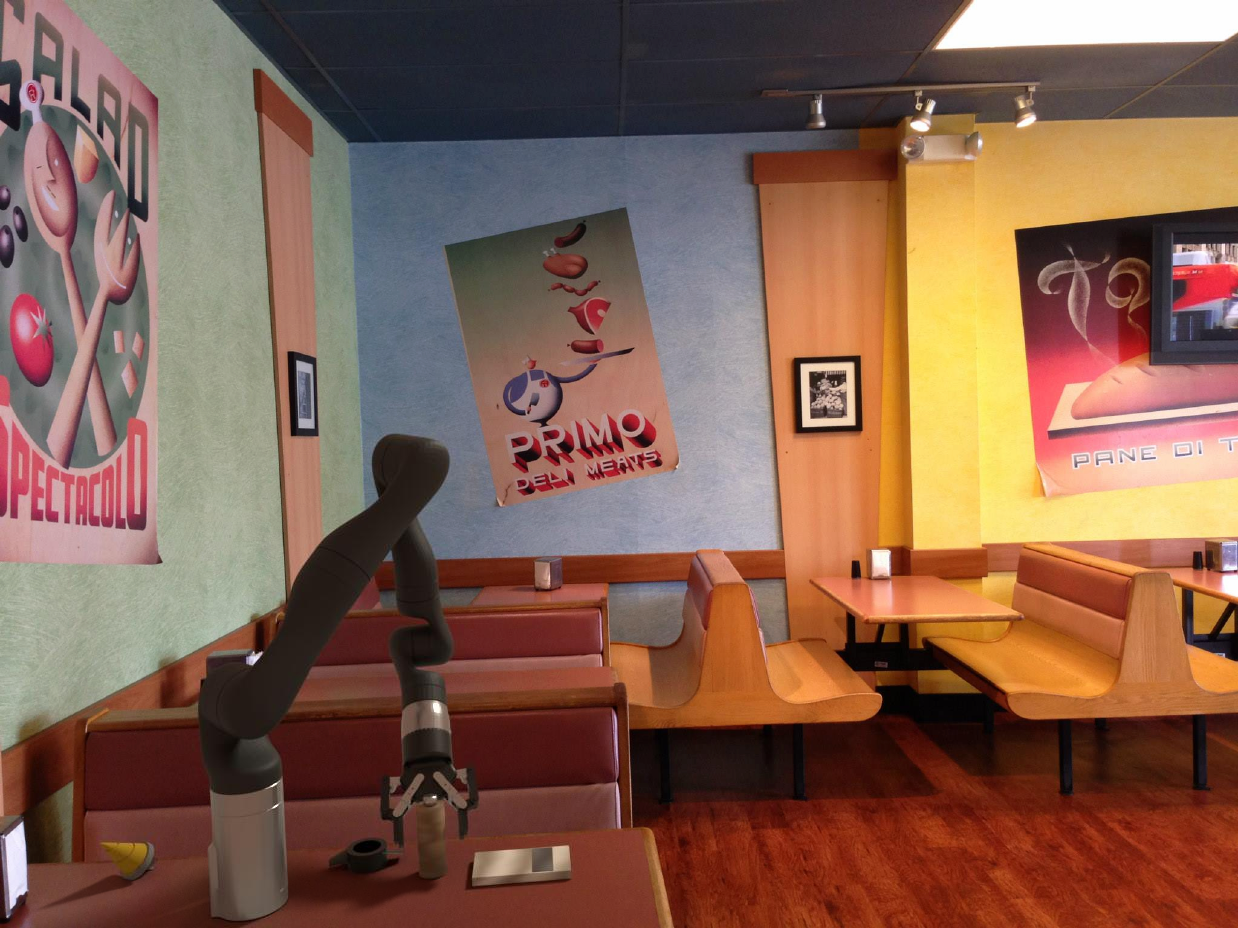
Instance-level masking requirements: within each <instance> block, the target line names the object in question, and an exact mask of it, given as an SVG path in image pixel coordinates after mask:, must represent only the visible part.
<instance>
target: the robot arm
mask: <svg viewBox="0 0 1238 928" xmlns="http://www.w3.org/2000/svg"><path fill="white" fill-rule="evenodd" d="M450 463H451V459H450V452H449V450H448V448H447V446H445V445H444V443H443V442H440V441H439V440H436V439H433V438H430V437H425V436H424V437H423V436H416V435H411V434H405V433H389V434H386V435H384V436H383V437H381V438H380V440H379V441H377V443H376V445H375V446H374V448H373V452H372V455H371V471H372V477H373V482H374V485H375V490H376V494H377V497H378V499H376V500H375V502H374V503H372V504H371V505H370V506H368V508H366V509H364V510H363V511H362V512H360V513H358V514H356V515H355V516H354V517H351V518H350V519H348V520H347V521H345V522H344V523H342V524H341V525H339V526H338V527H337V528H335V529H334V530H332V531H331V532H330V533H329V534H327V535H326V536H325V537H324V538H323V539H322V540H321V541H320V542H319V543H318V544H317V546H316V547H315V549H313V551H312V552H311V554H310V555H309V556H308V558H307V560H306V561H305V562H304V564H303V565H302V567H301V568H300V569H299V571H298V572H297V574H296V576H295V578H294V581H293V583H292V585H291V588H290V592H289V597H288V601H287V605H286V608H285V611H284V616H283V620H282V622H281V623H280V626H279V628H278V630H277V632H276V634H275V636H274V637H273V639H272V640H271V641H270V643H269V644H268V645H267V646H266V648H264V649H265V650H264V651H263V652H262V653H261V655H260V656H259V658H257V660H256V661H255V662H254V663H253V664H250V663H249V664H248V663H245V662H241V661H239V662H237V661H234V662H233V661H232V662H227V663H224V664H221V665H219V666H218V667H216V668H215V669H214V670H212V671H211V672H210V673H209V674H208V675H207V676H206V678H205V679H204V680H203V682H202V685H201V687H200V691H199V695H198V700H197V701H198V702H197V718H198V728H199V729H198V730H199V740H200V749H201V757H202V762H203V765H204V768H205V771H206V773H207V776H208V780H209V793H210V796H209V797H210V811H211V812H210V813H211V829H212V842H211V844H209V846H208V847H207V860H208V861H207V862H208V880H209V881H208V882H209V883H208V884H209V896H210V897H209V898H210V916H211V918H222V919H223V920H227V921H234V922H239V921H242V922H243V921H249V920H255V919H258V918H263V917H265V916H267V915H270V914H272V913H274V912H276V911H277V910H279V909H281V907H282V906H284V905H285V904H286V902H287V901H288V899H289V879H288V863H287V862H288V861H287V860H288V859H287V842H286V841H287V840H286V824H285V823H286V822H285V821H286V820H285V819H286V818H285V801H284V800H285V799H284V783H283V782H284V781H283V780H284V779H283V766H282V765H283V764H282V759H281V756H280V754H279V753H278V751H277V750H276V748H275V747H274V745H273V744H272V741H270V740H271V739H270V738H269V735H268V734H270V733H271V732H272V731H274V730H275V729H276V728H277V727H278V726H279V725H280V723H281V722H282V721H283V720H284V718H285V717H286V715H287V713H288V712H289V710H290V708H291V707H292V705H293V703H294V702H295V700H296V697H297V696H298V694H299V692H300V691H301V689H302V687H303V685H304V683H305V681H306V679H307V677H308V676H309V674H310V672H311V670H312V668H313V666H315V663H316V661H317V659H318V658H319V657H320V655H321V654H322V652H323V650H324V649H325V647H326V646H327V645H328V643H329V642H330V640H331V638H332V637H333V635H334V634H335V633H336V631H337V630H338V628H339V627H340V625H341V623H342V622H343V620H344V619H345V617H346V616H347V614H348V613H349V611H350V610H351V609H352V608H353V606H355V604H356V602H357V601H358V599H360V597H361V595H362V594H363V592H364V590H365V589H366V588H367V586H368V585H369V583H370V582H371V580H372V579H373V577H374V576H375V574H376V572H377V570H378V569H379V568H380V566H381V564H383V562H384V561H385V559H386V558H387V556H388V555H389V553H390V552H391V557H392V565H393V576H394V577H393V578H394V589H395V591H394V592H395V601H396V609H397V611H398V613H400V615H402V616H404V617H407V618H413V619H420V620H424V621H425V622H427V623H424V624H414V625H413V624H412V625H404V626H400V627H397V628H395V629H394V630H393V631H392V633H391V634H390V636H389V639H388V651H389V655H390V658H391V660H392V664H393V666H394V669H395V671H396V674H397V677H398V680H399V681H398V682H399V684H400V691H401V710H402V711H401V712H402V715H401V723H400V725H401V726H400V727H401V728H400V731H401V735H400V739H401V757H402V758H401V760H402V773H401V774H400V776H390V775H389V774H386V773H385V774H383V775H382V776H381V780H380V781H381V782H380V783H381V784H380V802H379V803H380V806H379V807H380V808H379V812H380V813H379V814H380V819H381V821H390V822H392V824H393V827H392V828H393V829H392V830H393V832H392V833H393V842H394V844H395V845H398V847H399V849H403V848H405V835H404V833H405V832H404V831H405V830H404V818H405V816H406V815H407V813H408V812H410V810H412V808H413V806H414V804H415V803H417V804H418V803H419V802H422V801H423V796H424V795H427V794H436V795H437V799H439V800H442V801H444V800H445V801H446V803H447V804H448V805H450V806H451V807H453V808H454V809H455V811H456V812H457V829H458V831H457V832H458V840H459V841H462V840H465V836H468V834H469V833H468V832H469V819H468V818H469V817H468V813H469V812H470V811H471V810H477V809H478V808H479V801H480V800H479V799H480V796H479V790H478V783H477V778H476V777H477V775H476V771H475V766H474V765H472V764H468V765H467V766H466V768H460V769H456V768H455V767H454V761H453V760H454V759H453V747H452V745H453V744H452V730H451V724H450V723H451V721H450V715H449V712H448V699H447V689H446V681H445V678H444V676H443V675H442V674H440V673H438V672H435V671H432V670H425V669H418V668H425V667H426V668H427V667H436V666H441V665H445V664H447V663H448V662H449V661H450V659H451V658H452V657H453V655H454V652H455V651H454V649H455V644H454V643H455V642H454V638H453V635H452V632H451V630H450V627H449V625H448V623H447V620H446V617H445V615H444V612H443V609H442V603H441V597H440V587H439V586H440V585H439V584H440V583H439V572H438V571H439V569H438V563H437V560H436V557H435V554H434V552H433V549H432V547H431V544H430V542H429V541H428V538H427V536H426V534H425V533H424V531H423V528H422V525H421V523H420V521H419V519H418V515H419V514H420V513H422V511H423V510H424V509H425V508H426V506H427V505H428V504H429V503H430V501H432V499H433V498H434V497H435V495H437V493H438V492H439V490H440V489H441V487H442V486H443V485H444V483H445V481H446V478H447V476H448V474H449V471H450V465H451V464H450ZM457 779H460V780H461V783H462V784H464V785H467V792H468V798H466V799H464V798H463V796H461V795H460V794H459V792H458V790H457V789H456V788H455V787H454V784H455V783H456V781H457ZM398 786H400V787H401V788H402V789H403V791H404V794H403V795H402V797H401V799H400V801H399V802H398V804H397V805H396V806H395V808H391V807H390V805H391V803H390V802H391V794H393V793H394V792H395V791H396V789H397V788H398Z"/></svg>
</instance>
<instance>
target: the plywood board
mask: <svg viewBox="0 0 1238 928" xmlns="http://www.w3.org/2000/svg"><path fill="white" fill-rule="evenodd" d="M473 859H474V861H473V869H472V876H471V881H472V882H471V885H472V887H478V886H481V887H482V886H490V885H505V884H517V883H531V882H543V881H554V880H555V881H556V880H568V879H572V867H571V865H572V863H571V856H570V845H559V846H545V847H543V846H542V847H531V848H519V849H503V850H490V851H479V852H478V851H477V852H475V853H474V858H473Z"/></svg>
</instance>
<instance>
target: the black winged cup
mask: <svg viewBox="0 0 1238 928" xmlns="http://www.w3.org/2000/svg"><path fill="white" fill-rule="evenodd" d="M404 853H406V849H405V848H404V849H403V848H400V849H390V850H388V842H387V840H385V839H383V838H380V837H365V838H361V839H358V840H355V841H353V842H351V843H350V844H349V845H348V846H347V847H346V848H345V849H344V850H342V851H340V852H338V853H337V854H335V855H334V856H331V857H330V858H329V859H328V866H329V868H332V867H334V866H340V865H347V870H348V871H350V873H352V874H353V873H354V874H356V875H358V874H360V875H361V874H365V875H366V874H371V873H375V872H377V871H380V870H382V869H384V868H385V867H386V866H387V864H388V863H389V862H388V861H389V860H388V856H389V855H398V854H404Z"/></svg>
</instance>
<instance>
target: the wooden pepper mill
mask: <svg viewBox="0 0 1238 928" xmlns="http://www.w3.org/2000/svg"><path fill="white" fill-rule="evenodd" d="M415 807H416V829H417V830H416V831H417V858H418V862H417V863H418V876H419V877H420V878H423V879H426V880H432V879H438V878H440V877H443V876H445V875H446V874H447V871H448V868H447V866H448V865H447V841H446V840H447V839H446V812H445V801H444V800H439V799H437V795H436V794H427V795H424V796H423V801H422V802H419V803H417V804H416V806H415Z"/></svg>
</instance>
